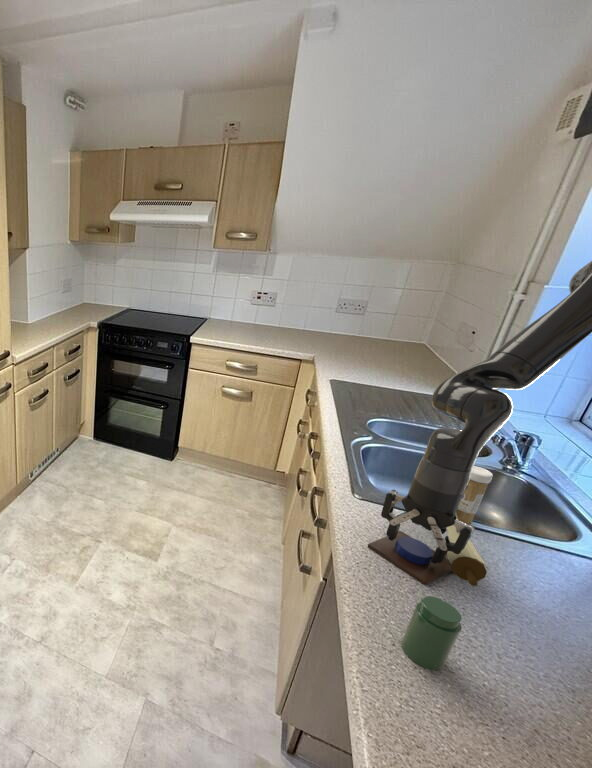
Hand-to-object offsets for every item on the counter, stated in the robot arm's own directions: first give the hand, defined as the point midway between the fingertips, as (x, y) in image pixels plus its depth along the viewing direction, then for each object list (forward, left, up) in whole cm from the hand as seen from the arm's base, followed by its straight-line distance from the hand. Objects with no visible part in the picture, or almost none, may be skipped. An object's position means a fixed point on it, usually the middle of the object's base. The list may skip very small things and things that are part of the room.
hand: (412, 549), depth 85 cm
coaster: (0, 0, -2) cm, 2 cm away
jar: (+21, +14, -2) cm, 25 cm away
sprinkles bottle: (-24, -3, -2) cm, 24 cm away
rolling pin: (-11, +1, -1) cm, 11 cm away
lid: (0, 0, 0) cm, 1 cm away
